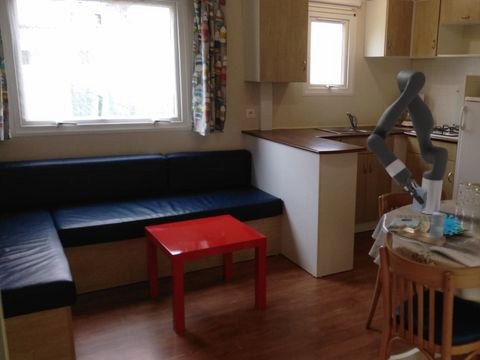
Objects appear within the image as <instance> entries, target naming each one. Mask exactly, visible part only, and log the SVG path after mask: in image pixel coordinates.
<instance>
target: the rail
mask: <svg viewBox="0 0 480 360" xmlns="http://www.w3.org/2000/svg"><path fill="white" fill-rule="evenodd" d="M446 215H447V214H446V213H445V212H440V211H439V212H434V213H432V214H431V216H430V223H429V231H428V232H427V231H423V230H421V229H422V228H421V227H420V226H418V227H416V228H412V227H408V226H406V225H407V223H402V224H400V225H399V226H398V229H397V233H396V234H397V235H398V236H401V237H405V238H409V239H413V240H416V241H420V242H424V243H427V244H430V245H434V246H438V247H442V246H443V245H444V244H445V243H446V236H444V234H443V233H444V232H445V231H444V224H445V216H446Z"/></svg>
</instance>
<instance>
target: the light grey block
mask: <svg viewBox="0 0 480 360" xmlns="http://www.w3.org/2000/svg"><path fill="white" fill-rule="evenodd" d="M416 189H417V192H418V194H419V195H420V196H421V198H422V199H423V200H424V201H425V202H424V203H423V204H422V205H420V204H419V203H418V202H417V200H416V199H415V198H412V209H411V211H414V212H419V213H422V212H423V211H424V210H425V207H426V200H427V188H423V187H422V186H420V187H417V188H416Z"/></svg>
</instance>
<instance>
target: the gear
mask: <svg viewBox="0 0 480 360" xmlns="http://www.w3.org/2000/svg"><path fill="white" fill-rule="evenodd" d="M453 217H454V215H452V214H449V217H448V214H446V216H445V224H444V231H443V235H444V234H447V235H448V233H449V236H451V237H452V236H453V235H456V234H459V233H460V232H461V231H464V229H465V227H464V226H461V221H458V220H459V219H458V217H454V218H453ZM453 231H454V232H453ZM458 232H459V233H458Z"/></svg>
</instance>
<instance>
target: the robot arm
mask: <svg viewBox="0 0 480 360" xmlns="http://www.w3.org/2000/svg"><path fill="white" fill-rule="evenodd" d="M426 81H427V80H426V75H425V73H424V72H422V71H419V70H414V69H402V70H401V71H399V73H398V74H397V77H396V83H397V84H396V85H397V88H398V91H399V92H400V94H401V95H400V96H399V97H397V99H396V100H395V101H393V103H392V104H391V105H389V106H388V107H386V109H385V110H384V111H383V113H382V115H381V116H380V118H379V119H378V121H377V123H376V125H375V128H374V130H373V131H372V133H371V134H370V135H369V136H368V137H367V138H366V147H367V149H368V150H369V151H371V153H373V154H374V155H375V156H376V157H377V159H378V161H379V163H380V164H381V165H382V167H383V168H384V169H385V170H386V172H387V173H388V174H389V176H390V177H391V178H392V179H393V180H394V182H396V184H397V185H398V186H399V185H401V184H402V185H403V188H402V190H403V191H404V192H405V193H406V194H407V195H408V196H409V197H410V198H411V199H413V198H415V199H416V200H417V202H418V203H419V204H420V205H422V204H423V203H424V202H425V201H424V200H423V199H422V198H421V196H420V195H419V194H418V192H417V189H416V188H417V187H423V188H427V200H426V207H425V210H424V211H423V212H421V213H422V214H426V215H432V213H434V212H440V204H441V198H442V189H443V181H444V177H445V174H446V171H447V165H448V160H449V151H448V149H447V148H445V147H443V146H436V145H434V144H433V143H432V139H431V135H432V132H433V129H434V126H435V120H434V117H433V114H432V111H431V109H430V108H429V106H428V105H427V103H426V102H425V101H424V100H423V99H422V97H421V96H420V94H419V93H420V92H421V91H422V89H423V88H424V86H425V84H426ZM405 110H407V111H408V114H409V118H410V120H411V125H412V127H413V129H414V132H415V135H416V139H417V142H418V146H419V147H418V148H419V151H420V157H421V159H422V161H423V163H425V164H428V165H432V169H431V170H425V171H423V173H422V181H421V186H420V185H419V183H418V181H417V180H416V179H415V178H411V177H412V175H413V173H412V172H411V171H410V170H409V168H408V167H407V166H406V165H405V164H404V162H402V161H401V159H399V158H398V156H397V155H396V153H394V152H393V151H392V150H391V149H390V147H389V146H388V145H387V143H386V140H387V138H388V136H389V135H390V133H391V132H392V130H393V128H394V127H395V125H396V123H397V122H398V121H399V118H400V117H401V116H402V114H403V113H404V112H405Z"/></svg>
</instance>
